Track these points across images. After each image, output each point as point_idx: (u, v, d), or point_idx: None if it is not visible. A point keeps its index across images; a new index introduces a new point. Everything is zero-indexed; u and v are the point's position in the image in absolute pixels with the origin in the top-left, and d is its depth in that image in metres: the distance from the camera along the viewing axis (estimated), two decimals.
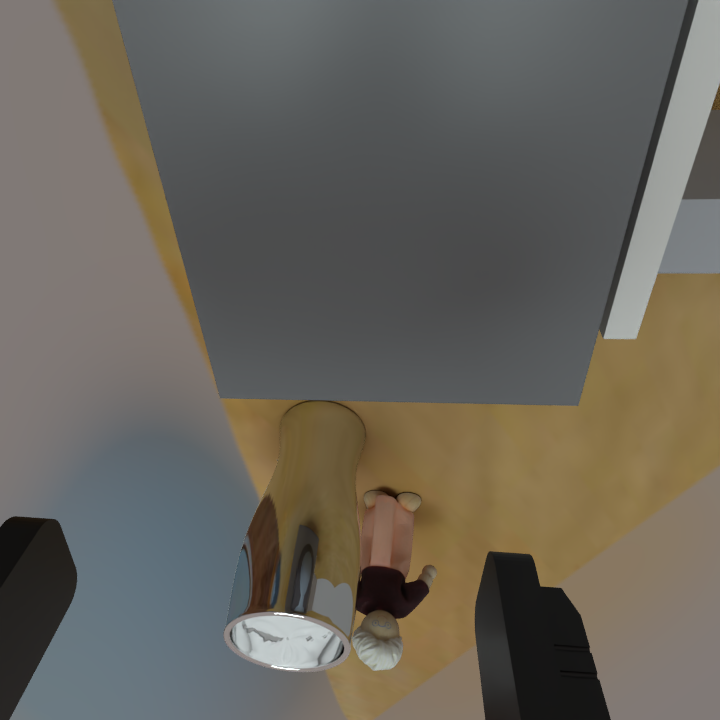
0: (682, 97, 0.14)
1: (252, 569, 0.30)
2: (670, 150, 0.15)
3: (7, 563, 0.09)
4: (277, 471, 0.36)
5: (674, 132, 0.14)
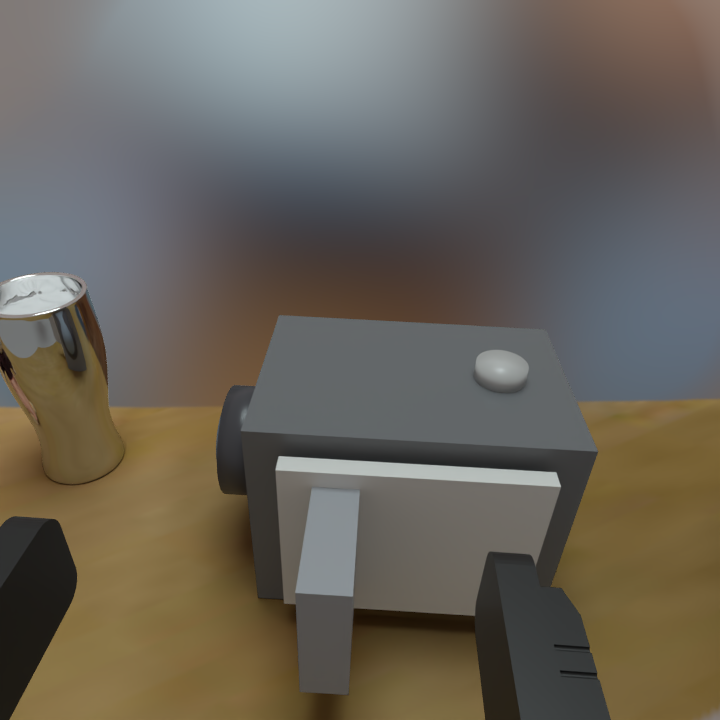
0: (421, 468, 0.29)
1: None
2: (396, 467, 0.29)
3: (7, 563, 0.09)
4: None
5: (405, 467, 0.29)
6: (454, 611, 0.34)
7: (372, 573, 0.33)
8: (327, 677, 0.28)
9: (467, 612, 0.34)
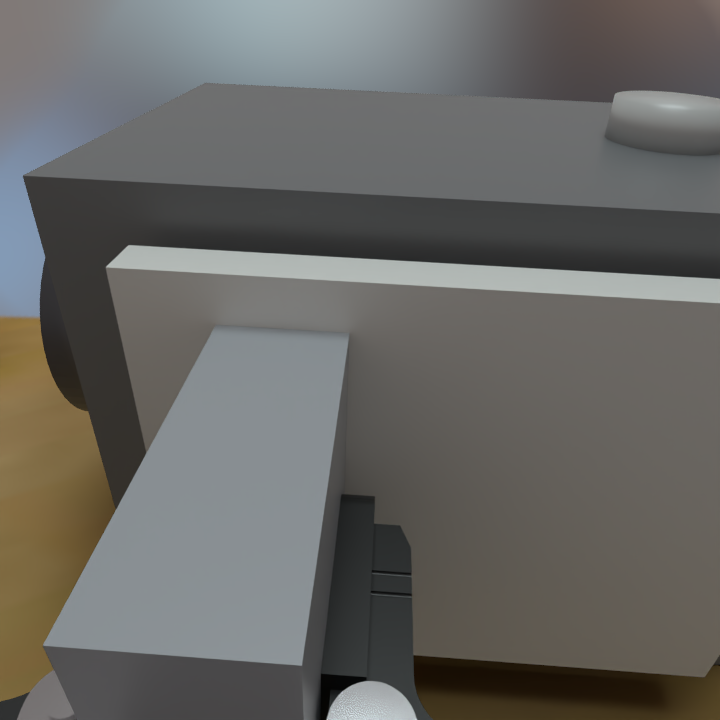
0: (523, 273, 0.10)
1: None
2: (452, 271, 0.10)
3: None
4: None
5: (478, 272, 0.10)
6: (561, 660, 0.15)
7: None
8: None
9: (590, 662, 0.15)
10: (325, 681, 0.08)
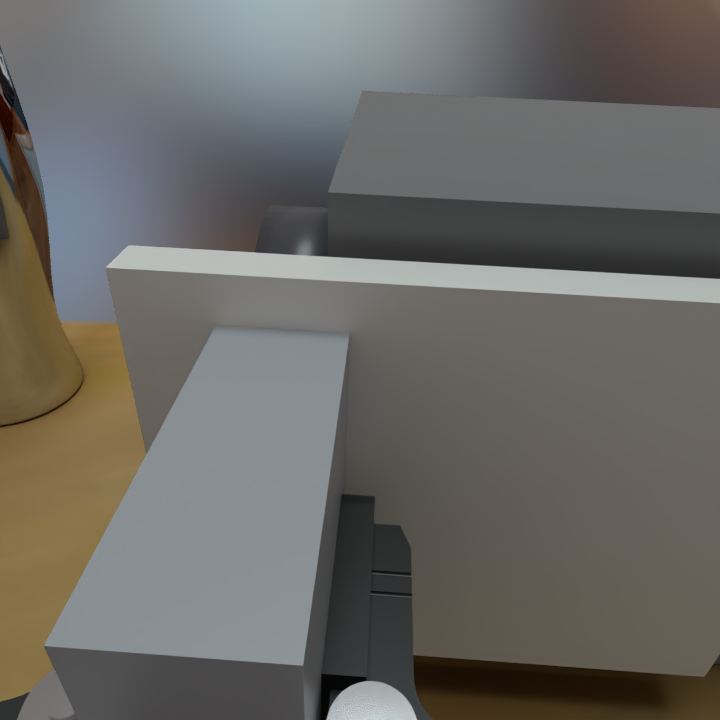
0: (523, 273, 0.10)
1: None
2: (452, 271, 0.10)
3: None
4: None
5: (477, 272, 0.10)
6: (561, 659, 0.15)
7: None
8: None
9: (589, 661, 0.15)
10: (325, 681, 0.08)
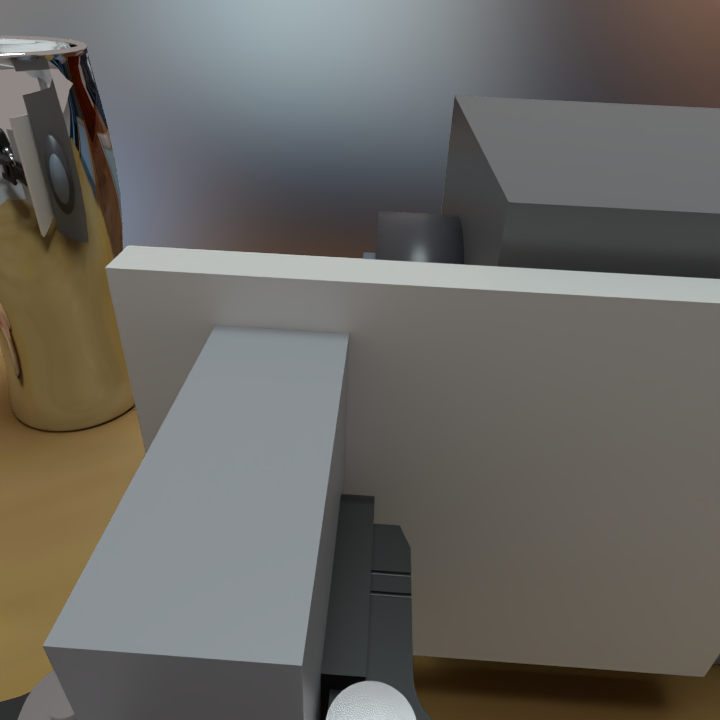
0: (523, 273, 0.10)
1: None
2: (452, 272, 0.10)
3: None
4: None
5: (477, 272, 0.10)
6: (561, 660, 0.15)
7: None
8: None
9: (589, 662, 0.15)
10: (324, 681, 0.08)
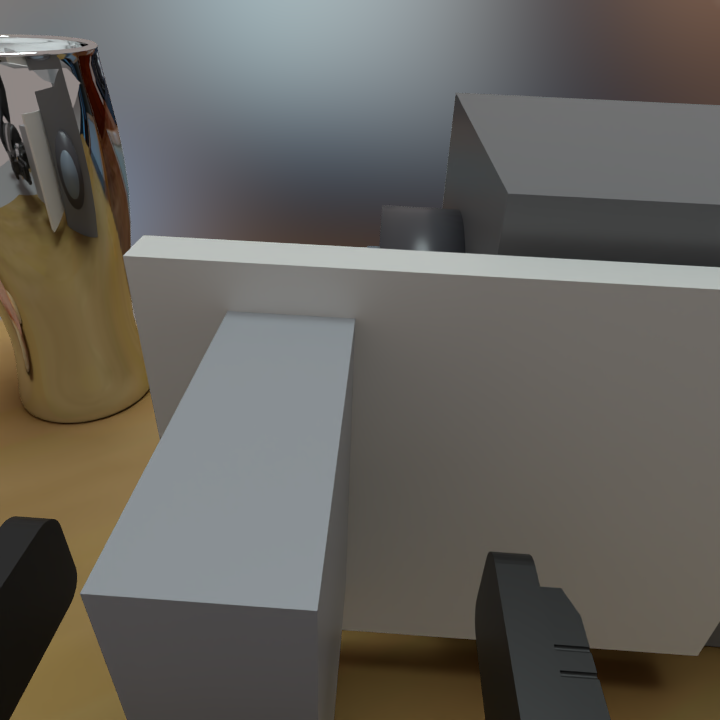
0: (521, 261, 0.11)
1: None
2: (453, 260, 0.11)
3: (7, 563, 0.09)
4: None
5: (477, 260, 0.11)
6: None
7: (384, 553, 0.14)
8: None
9: None
10: None
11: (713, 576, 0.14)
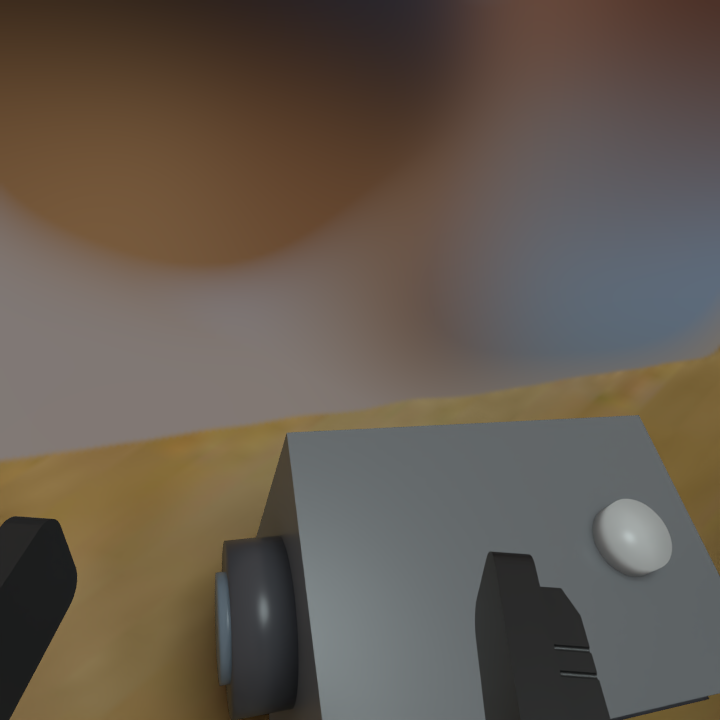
0: None
1: None
2: None
3: (7, 563, 0.09)
4: None
5: None
6: None
7: None
8: None
9: None
10: None
11: None
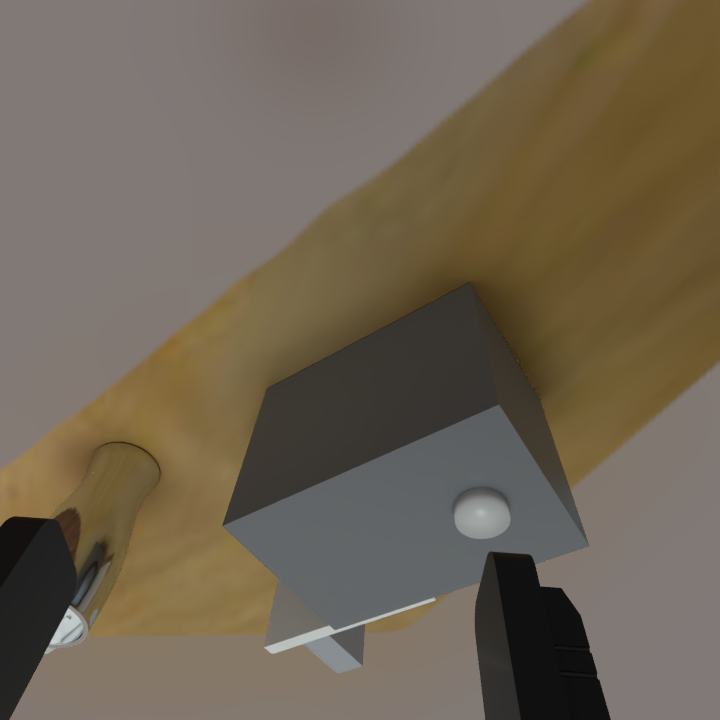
0: None
1: None
2: None
3: (7, 563, 0.09)
4: (98, 489, 0.46)
5: None
6: None
7: None
8: None
9: None
10: None
11: None
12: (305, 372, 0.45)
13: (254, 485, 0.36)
